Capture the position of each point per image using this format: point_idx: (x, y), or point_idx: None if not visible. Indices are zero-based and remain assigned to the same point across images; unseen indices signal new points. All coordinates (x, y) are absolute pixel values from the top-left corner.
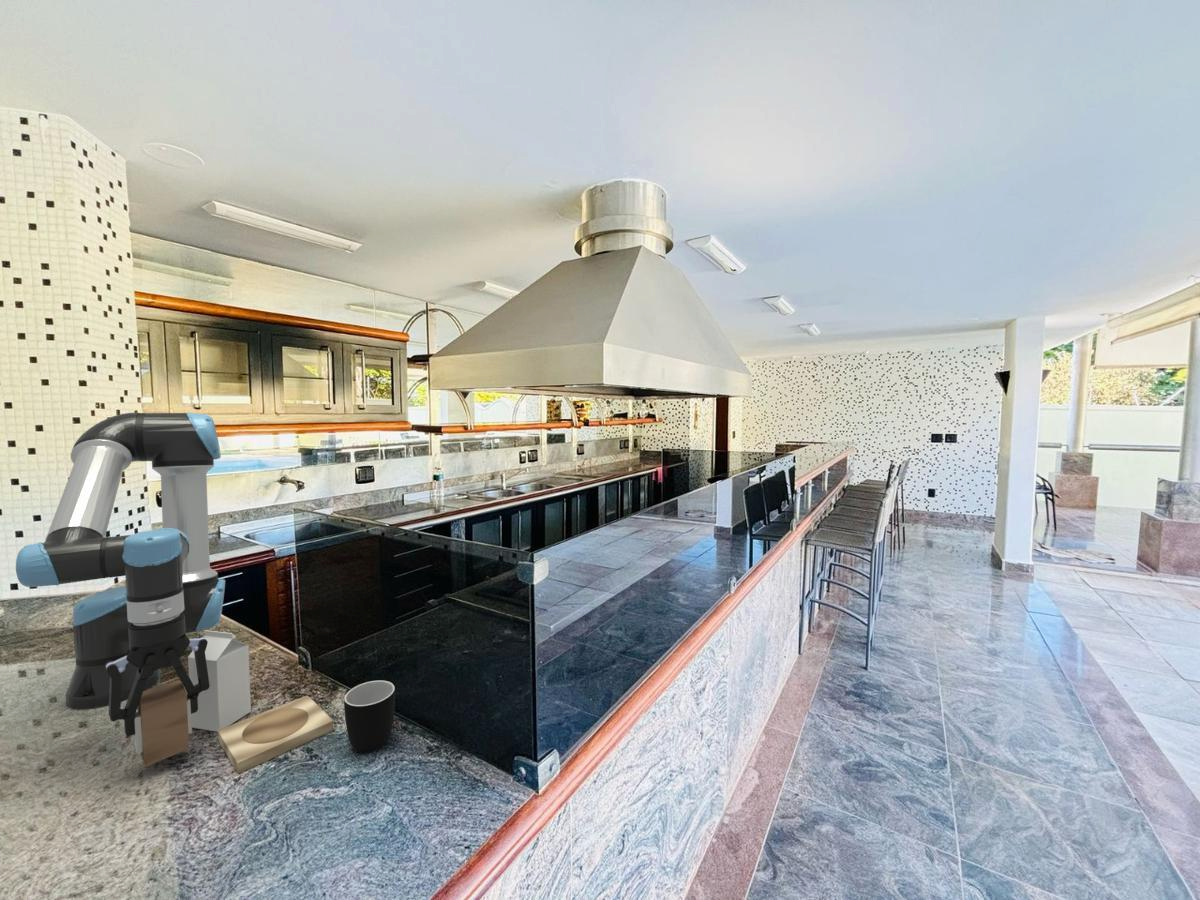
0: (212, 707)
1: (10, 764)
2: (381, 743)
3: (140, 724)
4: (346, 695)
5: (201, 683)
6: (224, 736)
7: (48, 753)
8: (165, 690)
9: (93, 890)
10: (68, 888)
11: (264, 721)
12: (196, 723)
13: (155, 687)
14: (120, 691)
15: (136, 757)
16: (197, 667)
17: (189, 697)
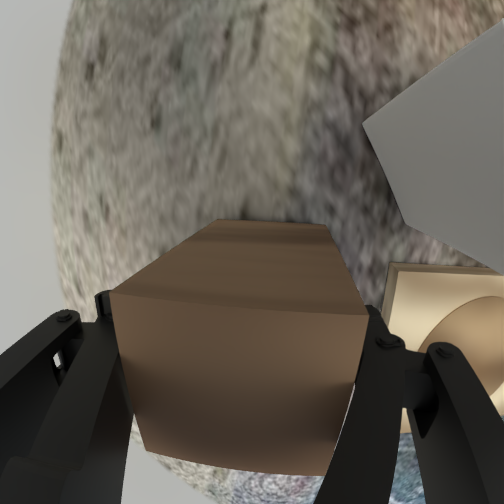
0: (428, 215)
1: (68, 18)
2: None
3: None
4: None
5: (414, 433)
6: (395, 320)
7: (107, 10)
8: (254, 401)
9: (162, 465)
10: (140, 445)
11: (471, 330)
12: (375, 142)
13: (209, 312)
14: (28, 454)
15: (225, 167)
16: (446, 483)
17: (355, 383)
